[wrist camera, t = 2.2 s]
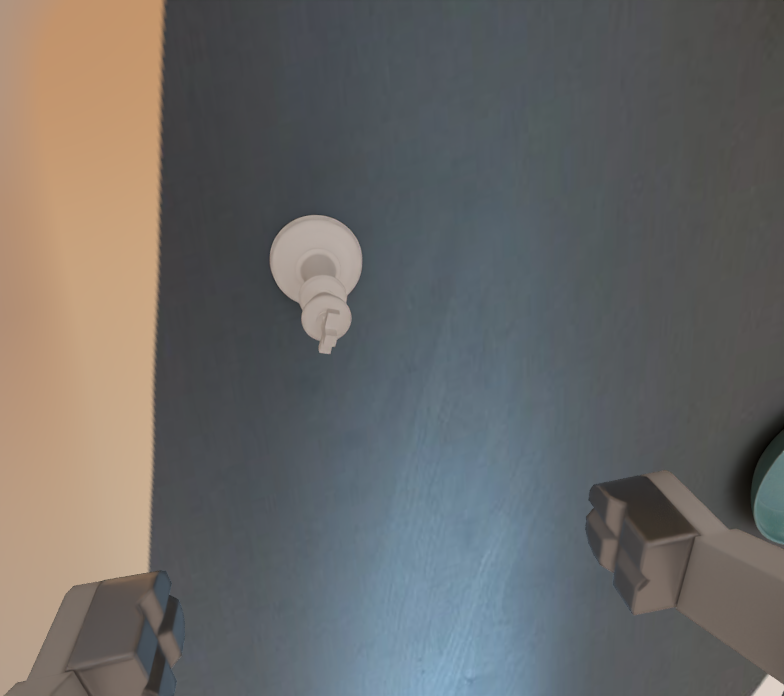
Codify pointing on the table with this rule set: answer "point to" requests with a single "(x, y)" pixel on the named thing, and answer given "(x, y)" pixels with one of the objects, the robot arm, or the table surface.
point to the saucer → (770, 491)
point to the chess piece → (318, 273)
